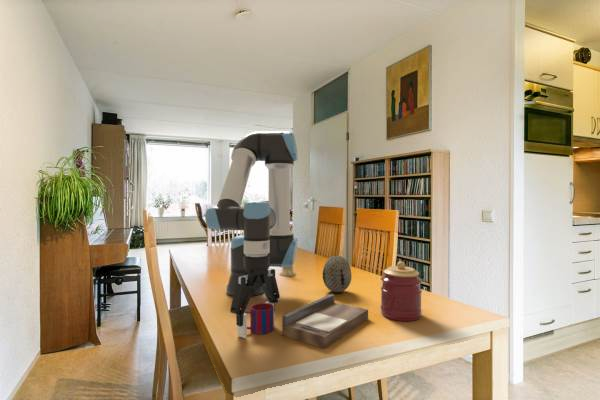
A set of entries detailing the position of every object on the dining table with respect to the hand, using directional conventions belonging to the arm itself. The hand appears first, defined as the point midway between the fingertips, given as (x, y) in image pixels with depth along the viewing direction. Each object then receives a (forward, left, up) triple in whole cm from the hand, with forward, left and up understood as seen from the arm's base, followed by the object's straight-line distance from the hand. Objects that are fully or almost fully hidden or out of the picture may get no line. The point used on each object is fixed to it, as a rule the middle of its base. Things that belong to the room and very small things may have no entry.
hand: (256, 330), depth 98 cm
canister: (+29, +38, 0) cm, 48 cm away
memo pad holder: (+15, +15, 0) cm, 21 cm away
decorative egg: (-1, +48, 0) cm, 48 cm away
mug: (0, 0, 0) cm, 0 cm away
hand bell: (-36, +60, 0) cm, 70 cm away
